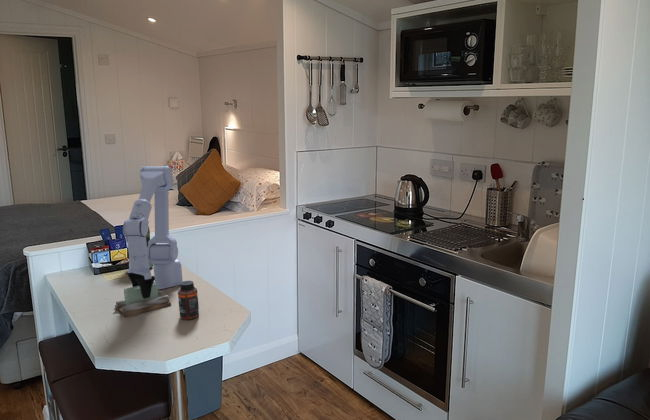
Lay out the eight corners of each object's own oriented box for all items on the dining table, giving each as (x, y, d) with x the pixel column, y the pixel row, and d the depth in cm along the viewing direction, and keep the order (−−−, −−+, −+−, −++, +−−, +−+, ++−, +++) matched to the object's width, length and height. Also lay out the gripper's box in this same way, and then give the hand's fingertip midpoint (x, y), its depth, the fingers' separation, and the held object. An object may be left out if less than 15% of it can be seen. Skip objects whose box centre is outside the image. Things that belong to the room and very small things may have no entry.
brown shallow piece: (159, 296, 182) (158, 289, 182) (171, 305, 175) (170, 297, 174) (115, 308, 173) (114, 300, 173) (125, 317, 166) (124, 309, 165)
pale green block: (155, 298, 178) (153, 282, 177) (158, 301, 176) (157, 284, 174) (125, 306, 172) (123, 289, 170) (128, 309, 169) (126, 291, 168)
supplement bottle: (203, 314, 167) (200, 280, 165) (192, 321, 162) (189, 286, 159) (186, 311, 169) (184, 278, 167) (176, 319, 164) (173, 284, 161)
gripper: (118, 252, 173) (122, 291, 176) (134, 262, 162) (138, 303, 165) (139, 248, 178) (143, 286, 181) (156, 258, 167) (159, 298, 170)
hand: (142, 294), depth 173 cm, fingers open, 7 cm apart
